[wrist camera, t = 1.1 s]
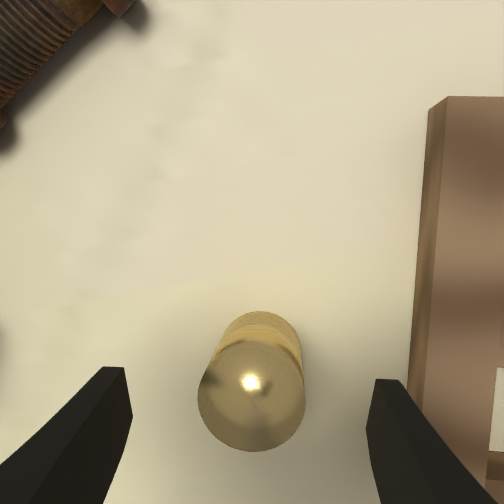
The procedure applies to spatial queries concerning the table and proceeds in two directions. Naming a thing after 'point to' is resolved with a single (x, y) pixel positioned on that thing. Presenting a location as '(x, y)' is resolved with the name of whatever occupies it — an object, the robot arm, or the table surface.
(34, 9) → the bolt
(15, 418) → the table surface
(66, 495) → the robot arm
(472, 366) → the frame
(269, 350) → the brass peg
